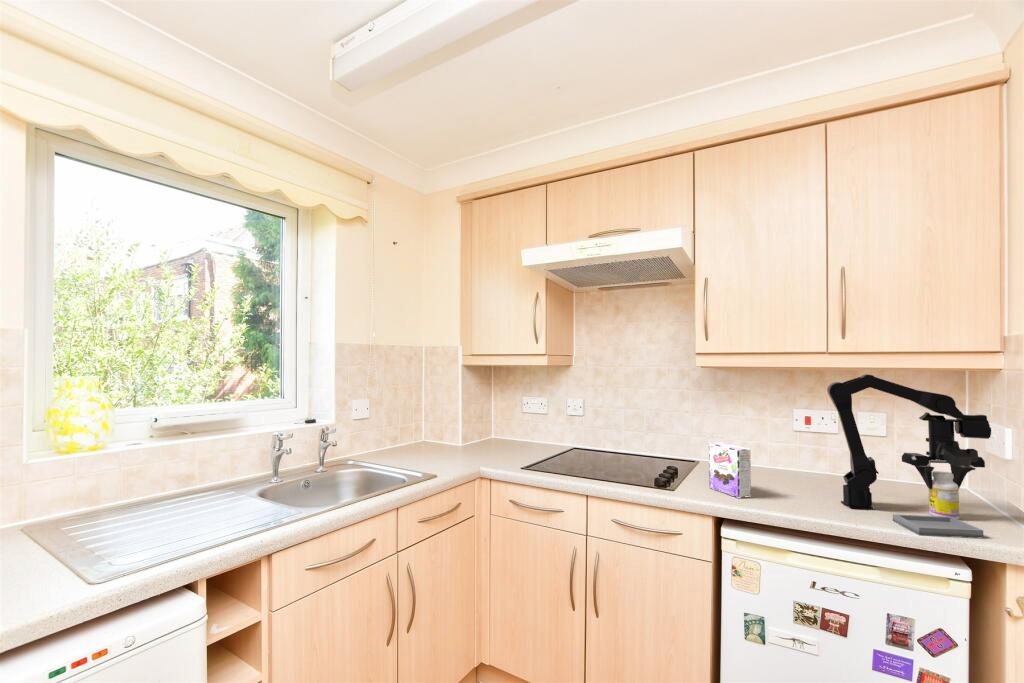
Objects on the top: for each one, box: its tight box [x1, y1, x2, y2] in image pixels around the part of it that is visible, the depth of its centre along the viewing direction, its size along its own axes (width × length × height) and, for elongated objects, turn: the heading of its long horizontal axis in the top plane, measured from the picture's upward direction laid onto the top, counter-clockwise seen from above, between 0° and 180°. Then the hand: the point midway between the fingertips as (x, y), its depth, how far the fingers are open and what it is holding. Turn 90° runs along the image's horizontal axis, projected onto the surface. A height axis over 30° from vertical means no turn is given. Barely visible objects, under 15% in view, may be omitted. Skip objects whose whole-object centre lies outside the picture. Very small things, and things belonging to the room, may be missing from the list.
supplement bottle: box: [928, 470, 961, 520], centre depth 141 cm, size 7×7×13 cm
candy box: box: [708, 441, 752, 498], centre depth 167 cm, size 14×6×16 cm, turn 20°
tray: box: [892, 513, 984, 539], centre depth 131 cm, size 15×11×2 cm
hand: (943, 489), depth 141 cm, fingers closed on supplement bottle, 7 cm apart
